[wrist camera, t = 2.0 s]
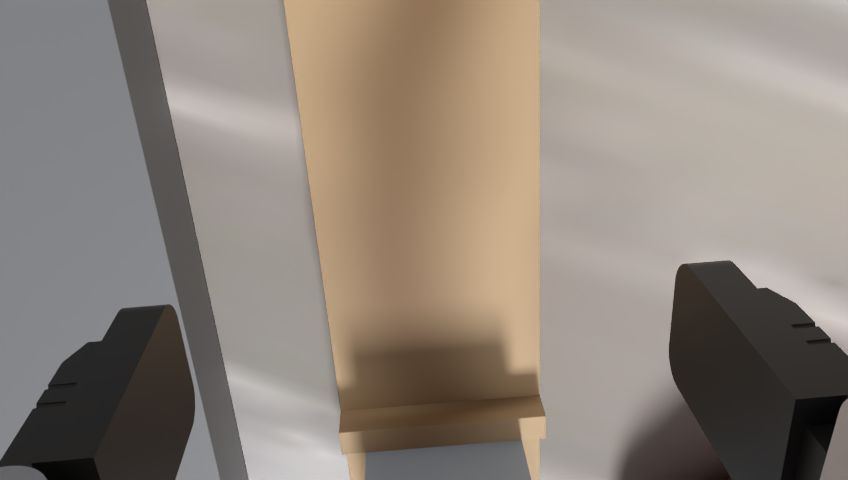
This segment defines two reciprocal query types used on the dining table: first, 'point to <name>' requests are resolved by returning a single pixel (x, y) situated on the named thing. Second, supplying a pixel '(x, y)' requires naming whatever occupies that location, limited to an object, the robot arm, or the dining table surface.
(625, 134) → the dining table surface
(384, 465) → the pale blue block
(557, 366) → the dining table surface
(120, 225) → the plate
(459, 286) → the long wooden trough
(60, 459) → the robot arm
